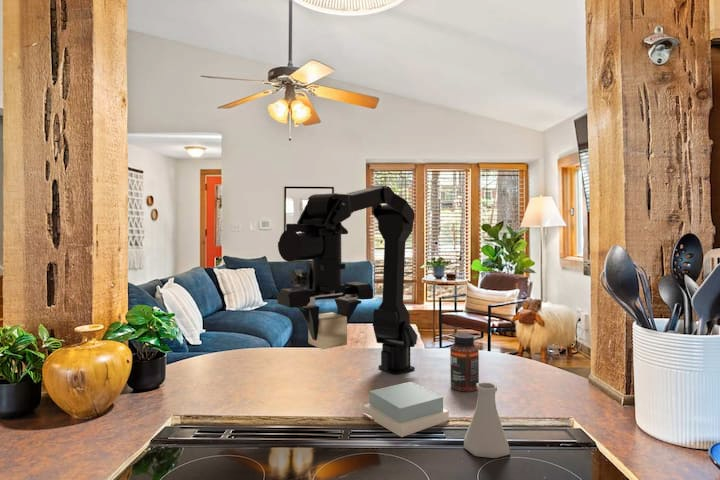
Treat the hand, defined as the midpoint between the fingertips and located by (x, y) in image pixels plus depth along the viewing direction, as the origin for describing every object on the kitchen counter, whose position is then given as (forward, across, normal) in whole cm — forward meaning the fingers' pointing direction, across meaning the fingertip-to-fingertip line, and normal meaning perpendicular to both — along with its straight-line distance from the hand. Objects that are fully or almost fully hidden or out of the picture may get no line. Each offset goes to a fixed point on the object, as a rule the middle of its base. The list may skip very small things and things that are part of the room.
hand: (327, 337), depth 90 cm
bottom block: (+14, -8, +14) cm, 21 cm away
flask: (+13, -11, +30) cm, 35 cm away
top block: (+11, -8, +14) cm, 20 cm away
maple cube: (+1, 0, 0) cm, 1 cm away
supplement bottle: (+13, -28, +10) cm, 33 cm away
